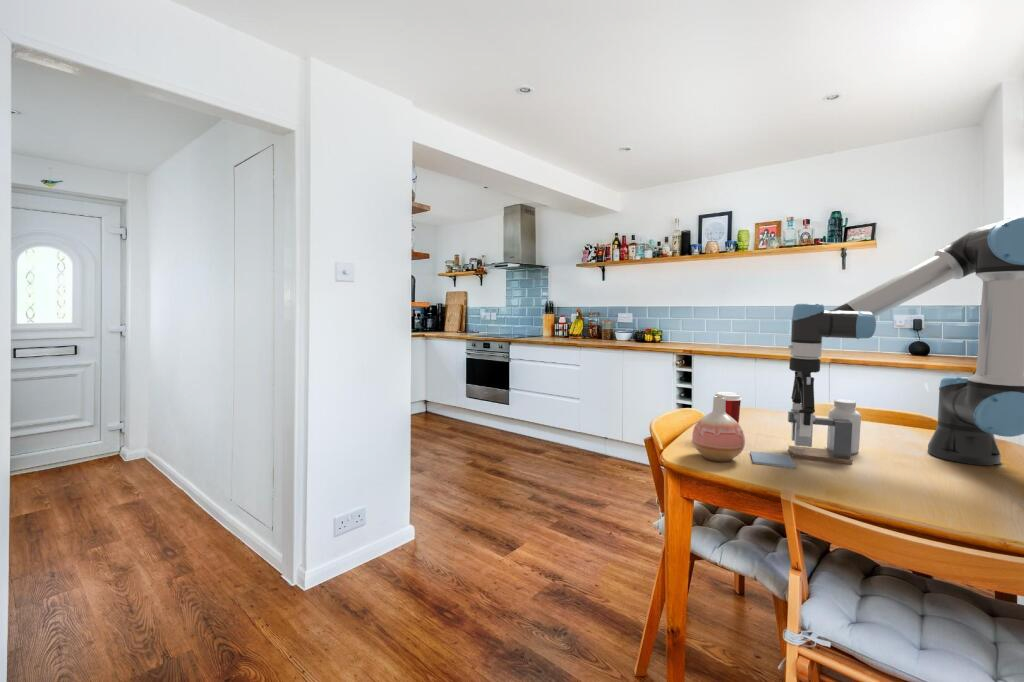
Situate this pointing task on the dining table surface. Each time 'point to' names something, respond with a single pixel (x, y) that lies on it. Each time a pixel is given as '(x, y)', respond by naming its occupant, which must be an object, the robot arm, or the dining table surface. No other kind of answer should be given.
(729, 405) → the coffee cup
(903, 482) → the dining table surface
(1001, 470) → the dining table surface
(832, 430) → the hook stand
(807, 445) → the light grey block
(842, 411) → the pill bottle
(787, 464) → the mat
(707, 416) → the vase
